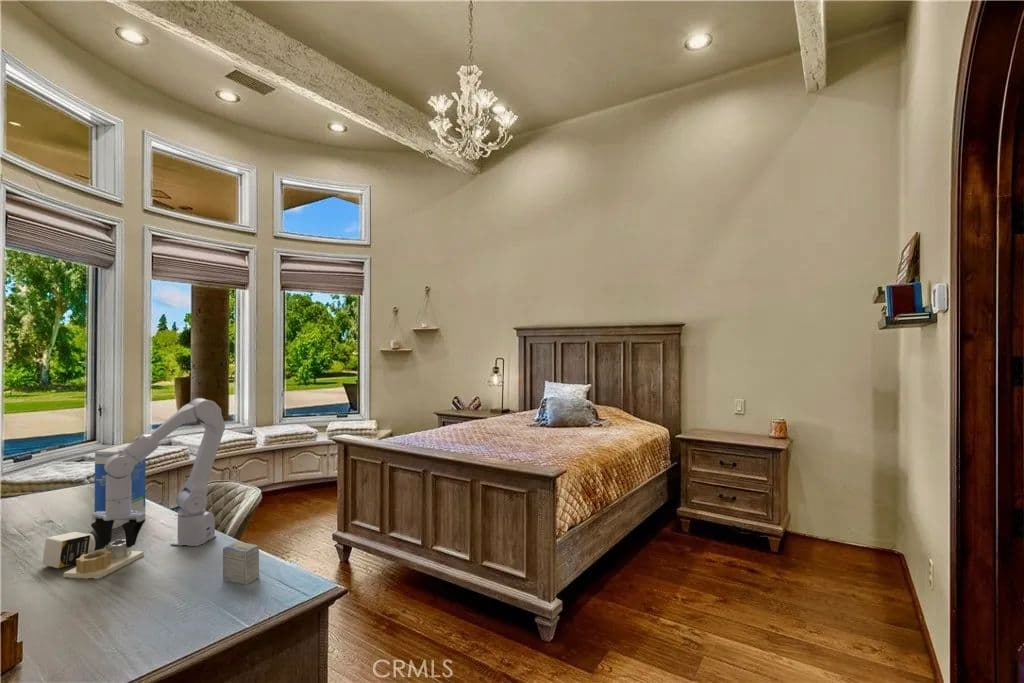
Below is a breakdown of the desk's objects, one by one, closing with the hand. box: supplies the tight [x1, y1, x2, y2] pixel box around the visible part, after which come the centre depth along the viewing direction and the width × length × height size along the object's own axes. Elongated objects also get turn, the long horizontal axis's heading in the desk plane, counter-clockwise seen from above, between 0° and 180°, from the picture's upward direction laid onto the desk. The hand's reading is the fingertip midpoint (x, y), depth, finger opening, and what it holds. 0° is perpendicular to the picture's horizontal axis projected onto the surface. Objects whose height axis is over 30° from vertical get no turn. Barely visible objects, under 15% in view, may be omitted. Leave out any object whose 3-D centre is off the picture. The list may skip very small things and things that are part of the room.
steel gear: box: [105, 538, 132, 560], centre depth 137 cm, size 6×6×4 cm
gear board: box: [63, 538, 145, 580], centre depth 134 cm, size 10×14×6 cm
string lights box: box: [93, 442, 146, 529], centre depth 167 cm, size 13×8×26 cm, turn 178°
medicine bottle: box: [41, 531, 106, 569], centre depth 137 cm, size 7×7×12 cm
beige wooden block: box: [222, 541, 260, 586], centre depth 126 cm, size 8×4×9 cm, turn 71°
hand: (118, 545), depth 137 cm, fingers open, 7 cm apart
